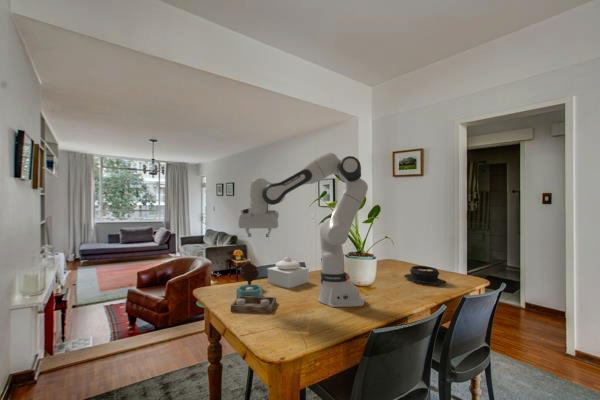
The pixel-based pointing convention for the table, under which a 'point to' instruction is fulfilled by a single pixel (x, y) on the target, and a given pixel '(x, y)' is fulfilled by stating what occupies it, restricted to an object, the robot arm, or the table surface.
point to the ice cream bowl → (249, 272)
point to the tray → (254, 305)
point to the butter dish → (287, 274)
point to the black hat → (424, 275)
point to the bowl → (255, 293)
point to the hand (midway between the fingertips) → (258, 237)
